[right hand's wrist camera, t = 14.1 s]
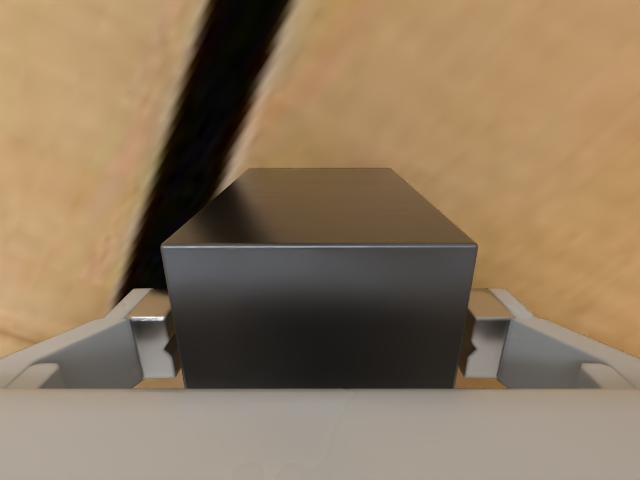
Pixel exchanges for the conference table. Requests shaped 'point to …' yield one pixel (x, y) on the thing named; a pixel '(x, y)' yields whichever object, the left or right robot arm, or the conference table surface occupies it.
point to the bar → (319, 284)
